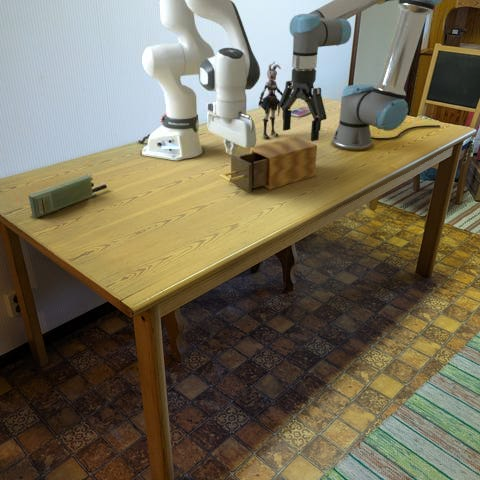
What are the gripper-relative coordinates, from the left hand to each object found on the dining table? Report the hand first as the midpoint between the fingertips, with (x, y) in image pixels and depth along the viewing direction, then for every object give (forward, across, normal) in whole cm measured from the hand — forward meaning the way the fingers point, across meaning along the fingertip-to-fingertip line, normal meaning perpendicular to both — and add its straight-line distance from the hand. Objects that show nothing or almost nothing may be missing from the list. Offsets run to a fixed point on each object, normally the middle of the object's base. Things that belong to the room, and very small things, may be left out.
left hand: (231, 154), depth 153 cm
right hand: (-1, 0, -28) cm, 28 cm away
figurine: (+13, +36, -46) cm, 60 cm away
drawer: (+12, 0, -10) cm, 15 cm away
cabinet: (+13, 0, -22) cm, 25 cm away
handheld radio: (+13, +21, +43) cm, 50 cm away
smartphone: (+13, +55, -81) cm, 99 cm away
